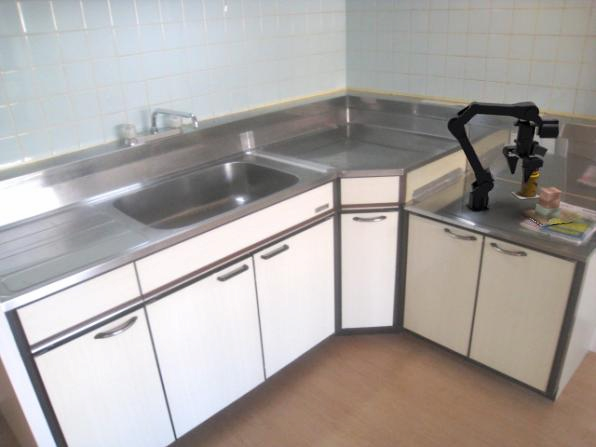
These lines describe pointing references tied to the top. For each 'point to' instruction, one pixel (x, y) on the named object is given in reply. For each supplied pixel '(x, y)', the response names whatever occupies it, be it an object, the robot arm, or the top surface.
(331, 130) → the top surface
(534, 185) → the condiment
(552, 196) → the top block
